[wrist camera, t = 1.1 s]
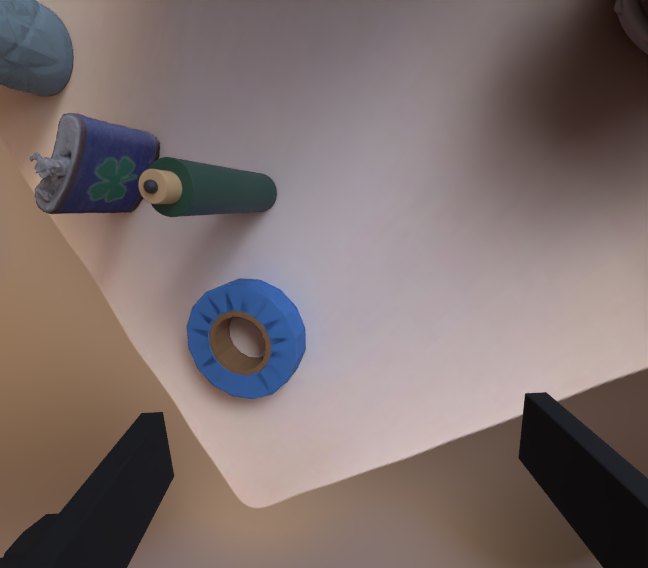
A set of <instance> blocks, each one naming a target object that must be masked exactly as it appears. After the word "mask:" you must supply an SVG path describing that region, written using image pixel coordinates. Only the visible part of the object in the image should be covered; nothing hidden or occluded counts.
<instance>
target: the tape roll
mask: <svg viewBox="0 0 648 568" xmlns="http://www.w3.org/2000/svg"><path fill="white" fill-rule="evenodd" d="M232 317H242V318H245V319H247V320H249V321H251V322H252V323H254V325H255V326H256V327H257V328H258V329H259V330H260V331H261V333H262V336H263V338H264V340H265V354H264V357H260V358H254V357H248V356H247V355H245V354H243V353H241V352H240V351H239V350H238V349H237V348H236V347H235V346H234V344H233V342H232V340H231V338H230V334H229V325H230V322H231V319H232ZM187 336H188V346H189V351H190V353H191V355H192V357H193V359H194V361H195V364H196V366H197V368H198V369H199V370H200V371H201V373H202V374H203V375H204V376H205V377H206V378H207V379H208V380H209V381H210V382H211V383H212V385H214V386H215V387H217V388H219V389H221V390H223V391H224V392H226V393H228V394H230V395H232V396H236V397H242V398H248V399H255V398H259V397H263V396H267V395H271V394H273V393H275V392H276V391H277V390H278V389H279V388H280V387H282V386H283V385H284V384H285V383H286V382H287V381H288V380H289V379H290V378H291V376H292V375H293V373H294V372H295V371H296V369H297V368H298V366H299V364H300V361H301V359H302V357H303V355H304V352H305V349H306V347H305V327H304V324H303V322H302V319H301V317H300V315H299V312H298V310H297V307H296V306H295V305H294V304H293V303H292V302H291V301H290V300H289V298H288V297H287V296H286V295H285V294H284V293H283V292H282V291H281V290H280V289H278V288H276V287H274V286H272V285H270V284H268V283H266V282H264V281H261V280H253V279H237V280H235V281H232V282H230V283H227V284H225V285H222V286H220V287H217V288H215V289H212V290H210V291H208V292H206V293H205V294H204V295H203V296H202V297H201V298H200V299H199V301H198V302H197V303H196V304H195V305H194V306H193V308H192V310H191V314H190V317H189V321H188V324H187Z"/></svg>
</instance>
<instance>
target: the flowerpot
mask: <svg viewBox="0 0 648 568" xmlns="http://www.w3.org/2000/svg"><path fill="white" fill-rule="evenodd" d="M614 11H615V12H616V13H618V17H619V20H620V23H621V25H622V27H623V29H624V30H625V32H626V34H627V35H628V36H629V38H630V39H631V40H632V41H633V42H634V43H635V44H636V45H637V46H638V47H639V48H640V49H641V50H643V51H644V52H645V53H647V54H648V0H616V4H615V6H614Z"/></svg>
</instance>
